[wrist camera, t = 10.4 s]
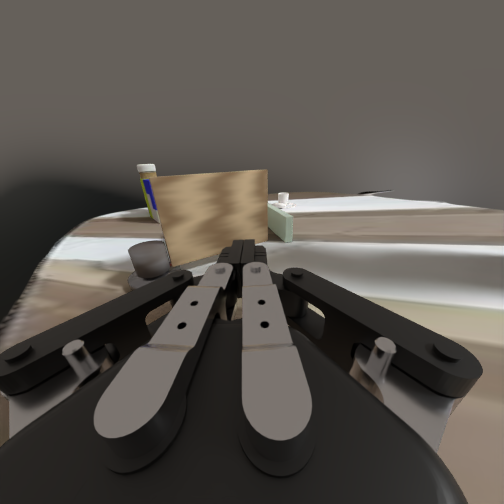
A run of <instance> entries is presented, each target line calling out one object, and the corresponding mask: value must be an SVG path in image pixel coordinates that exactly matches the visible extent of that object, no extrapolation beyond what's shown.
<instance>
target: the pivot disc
mask: <svg viewBox="0 0 504 504" xmlns="http://www.w3.org/2000/svg"><path fill="white" fill-rule="evenodd" d="M169 263H170V269H169V270H168V271H167V272H166V273H164V274H162V275H159V276H157V277H153V278H139V277H138V276H137V274H136V271H135V272H133V273H132V274H131V275H130V276H129V278H128V283H129V285H130V288H131V290H132V291H133V290H135V289H138V288H140V287H142V286H144V285H146V284H148V283H151V282H153V281H155V280H157V279H159V278H161V277H164V276H166V275H168V274H170V273H172V272H175V271H179V270H180V266H179V265H178V266H175V267H173V266H172V264H171V262H169Z"/></svg>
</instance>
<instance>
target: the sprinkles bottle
mask: <svg viewBox="0 0 504 504" xmlns="http://www.w3.org/2000/svg"><path fill="white" fill-rule="evenodd" d="M137 168H138V172H140V176H141V179H148V178H149V177H157V176H156V172H155V171H156V169H155V165H154V164H140V165H137Z"/></svg>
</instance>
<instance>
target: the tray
mask: <svg viewBox="0 0 504 504" xmlns="http://www.w3.org/2000/svg"><path fill="white" fill-rule="evenodd" d="M268 227H269V228H270V229H271V230H272V231H273V232H274V233H275V234H276V235H277V236H279V237H280V238H281V239H282V240H283V241H284V242H285V243H286V242H292V230H293V216H291V215H289V214H287V213H286V212H284V211H282V210H280V209H278V208H277V207H275V206H273V205H271V204H269V203H268Z"/></svg>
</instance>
